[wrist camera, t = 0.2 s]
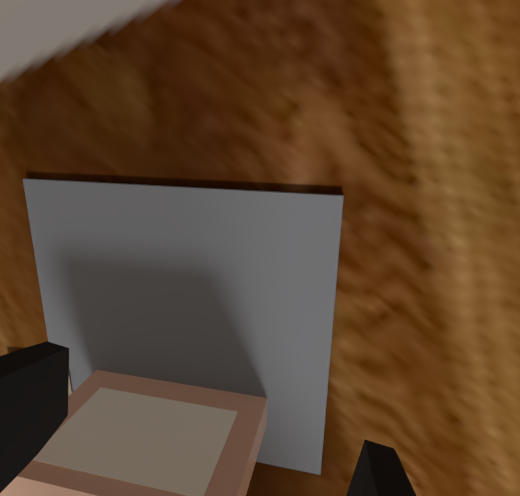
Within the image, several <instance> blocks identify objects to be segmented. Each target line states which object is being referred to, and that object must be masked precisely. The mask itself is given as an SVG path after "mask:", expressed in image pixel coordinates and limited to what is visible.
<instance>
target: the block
mask: <svg viewBox="0 0 520 496" xmlns="http://www.w3.org/2000/svg"><path fill="white" fill-rule="evenodd" d="M267 403H268V398H264V397H258V396H252V395H246V394H240V393H234V392H228V391H222V390H216V389H210V388H204V387H198V386H192V385H186V384H180V383H174V382H168V381H162V380H156V379H150V378H144V377H137V376H131V375H125V374H119V373H113V372H107V371H101V370H96V371H95V372H94V373H93V374H92V375H91V376H90V377H89V378H87V379H86V380H85V381H84V382H83V383H82V384H81V385H80V386H79V387H78V388H77V389H76V390H75V391H73V392H72V393H71V394H70V395H69V396H68V416H67V417H66V419H65V420H64V421H63V423H62V424H61V425H60V427H59V428H58V429H57V431H56V432H55V433H54V435H53V436H52V437H51V438H50V440H49V441H48V442H47V443H46V445H45V446H44V447H43V448H42V450H41V451H40V452H39V453H38V455H37V456H36V457H35V458H34V459H33V460H32V461H31V462H30V463H29V464H28V465H27V466H26V467H25V468H24V469H23V470H22V471H21V472H20V473H19V475H18V476H17V477H16V478H15V479H14V480H13V481H12V482H11V483H10V484H9V485H8V486H7V487H6V488H5V489H4V490H3V491H2V492H1V493H0V496H246V494H247V490H248V487H249V484H250V480H251V477H252V473H253V470H254V466H255V463H256V459H257V456H258V452H259V449H260V446H261V442H262V439H263V435H264V432H265V428H266V425H267Z"/></svg>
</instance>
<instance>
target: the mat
mask: <svg viewBox="0 0 520 496" xmlns="http://www.w3.org/2000/svg"><path fill="white" fill-rule="evenodd" d="M23 184H24V190H25V197H26V203H27V209H28V216H29V222H30V228H31V235H32V241H33V247H34V254H35V260H36V266H37V273H38V279H39V285H40V292H41V298H42V304H43V311H44V317H45V323H46V330H47V336H48V342H51V343H54V344H57V345H61V346H64V347H67V348H69V378H70V385H71V391H72V392H73V391H75V390H76V389H77V388H78V387H79V386H80V385H81V384H82V383H83V382H84V381H85V380H86V379H87V378H89V377H90V376H91V375H92V374H93V373H94V372H95V371H96V370H101V371H107V372H113V373H119V374H125V375H131V376H137V377H144V378H150V379H156V380H162V381H168V382H174V383H180V384H186V385H192V386H198V387H204V388H210V389H216V390H222V391H228V392H234V393H240V394H246V395H252V396H258V397H264V398H268V403H267V425H266V428H265V432H264V435H263V439H262V442H261V446H260V449H259V452H258V456H257V459H256V462H259V463H264V464H269V465H274V466H279V467H284V468H289V469H294V470H299V471H304V472H309V473H313V474H318V475H320V474H321V462H322V450H323V438H324V426H325V414H326V402H327V390H328V377H329V365H330V353H331V341H332V329H333V317H334V305H335V292H336V280H337V268H338V256H339V244H340V232H341V220H342V207H343V195H334V194H314V193H295V192H276V191H257V190H238V189H219V188H200V187H181V186H162V185H143V184H124V183H104V182H85V181H66V180H47V179H28V178H27V179H23Z"/></svg>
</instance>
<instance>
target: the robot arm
mask: <svg viewBox="0 0 520 496" xmlns="http://www.w3.org/2000/svg"><path fill="white" fill-rule="evenodd" d="M68 386H69V348H67V347H64V346H61V345H57V344H54V343H51V342H44V343H41V344H37V345H34V346H30V347H27V348H24V349H21V350H18V351H15V352H12V353H9V354H6V355H3V356H0V493H1V492H2V491H3V490H4V489H5V488H6V487H7V486H8V485H9V484H10V483H11V482H12V481H13V480H14V479H15V478H16V477H17V476H18V475H19V473H20V472H21V471H22V470H23V469H24V468H25V467H26V466H27V465H28V464H29V463H30V462H31V461H32V460H33V459H34V458H35V457H36V456H37V455H38V453H39V452H40V451H41V450H42V448H43V447H44V446H45V445H46V443H47V442H48V441H49V440H50V438H51V437H52V436H53V435H54V433H55V432H56V431H57V429H58V428H59V427H60V425H61V424H62V423H63V421H64V420H65V419H66V417H67V416H68ZM346 496H416V494H415V492H414V490H413V488H412V485H411V483H410V481H409V479H408V477H407V475H406V472H405V470H404V468H403V466H402V464H401V461H400V459H399V457H398V455H397V453H396V451H395V450H394V449H393V448H390V447H387V446H384V445H380V444H377V443H374V442H371V441H368V440H365V441H364V444H363V447H362V450H361V453H360V456H359V459H358V462H357V465H356V468H355V471H354V474H353V477H352V480H351V483H350V486H349V489H348V492H347V495H346Z"/></svg>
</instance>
